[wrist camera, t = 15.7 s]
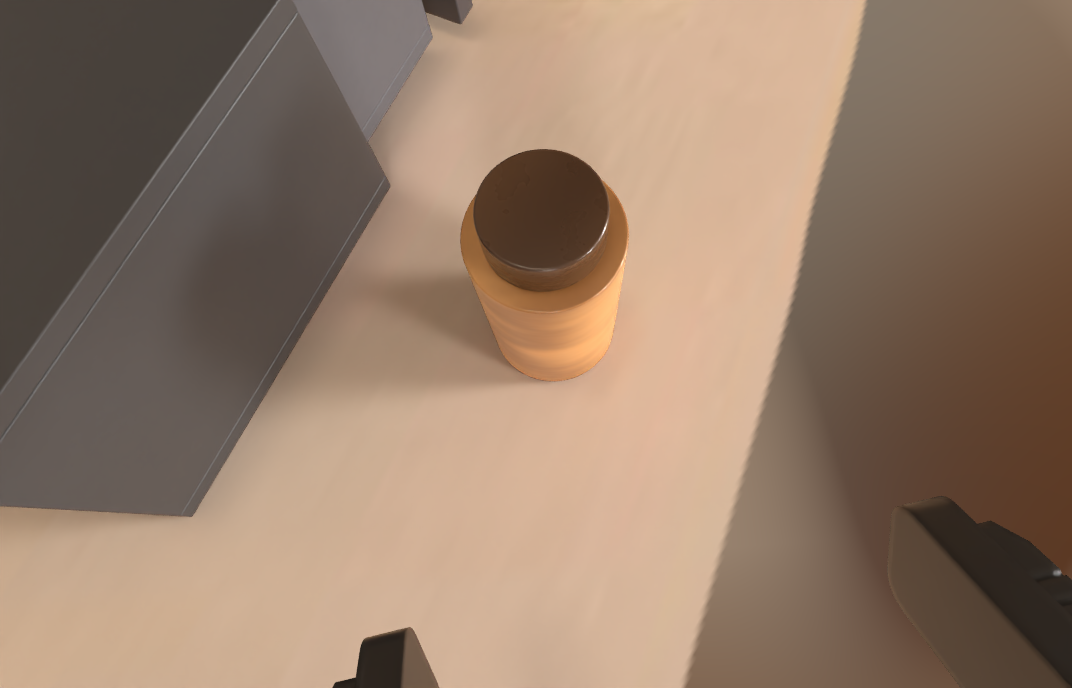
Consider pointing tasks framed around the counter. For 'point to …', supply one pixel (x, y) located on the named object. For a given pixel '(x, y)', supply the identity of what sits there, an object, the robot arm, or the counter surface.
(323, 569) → the counter surface
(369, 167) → the small drawer unit
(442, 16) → the drawer
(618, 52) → the counter surface
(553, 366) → the pepper mill
